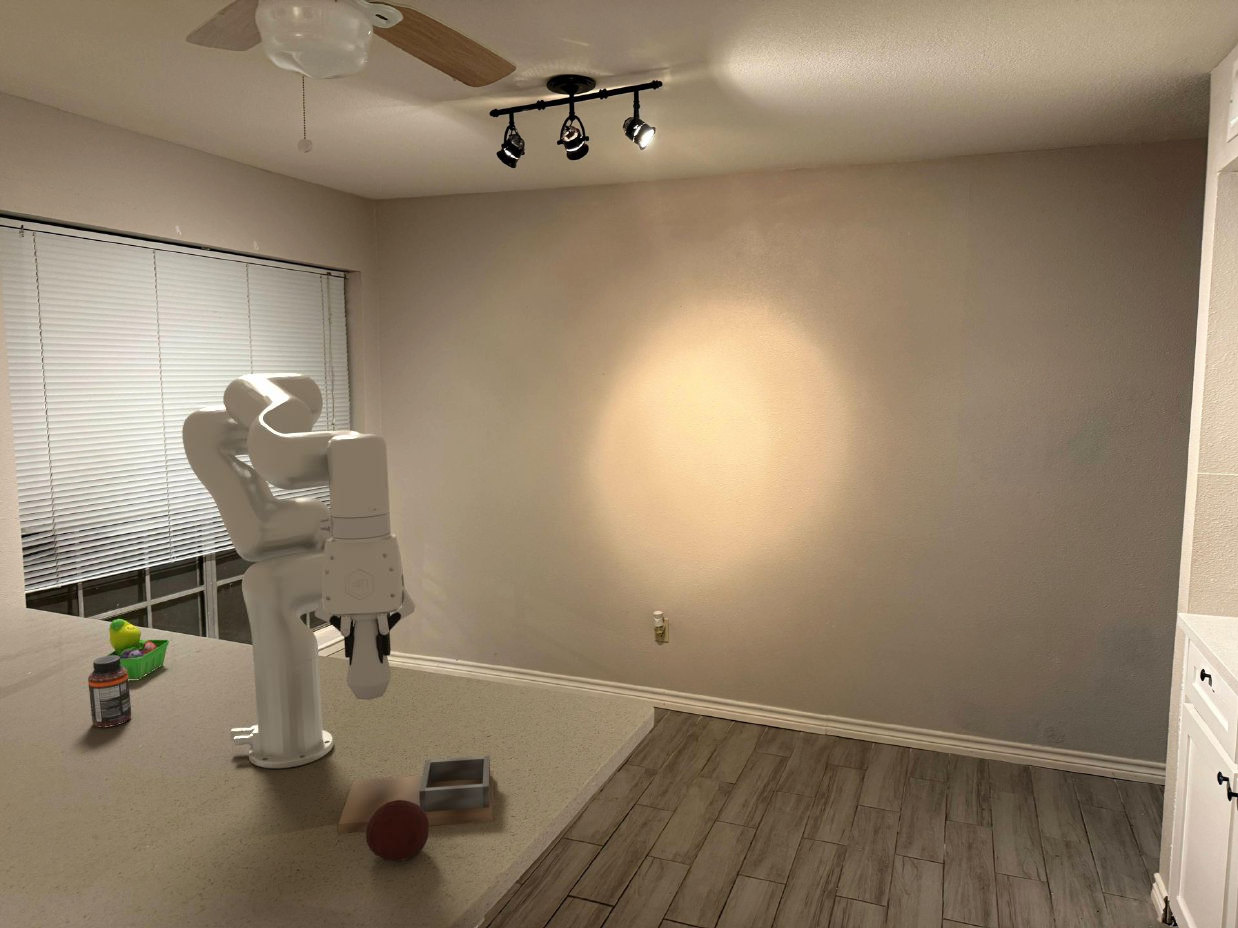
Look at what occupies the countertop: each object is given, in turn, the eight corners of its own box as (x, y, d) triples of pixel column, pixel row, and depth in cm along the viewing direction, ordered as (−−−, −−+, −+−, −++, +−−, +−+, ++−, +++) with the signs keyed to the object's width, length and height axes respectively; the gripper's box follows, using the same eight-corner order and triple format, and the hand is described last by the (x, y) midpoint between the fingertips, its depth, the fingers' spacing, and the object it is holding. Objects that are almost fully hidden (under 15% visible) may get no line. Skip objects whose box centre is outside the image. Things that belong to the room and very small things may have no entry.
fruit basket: (141, 683, 168) (137, 627, 166) (96, 683, 168) (92, 627, 166) (172, 663, 179) (168, 610, 178) (130, 663, 179) (126, 610, 178)
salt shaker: (378, 703, 113) (373, 607, 112) (339, 700, 114) (333, 605, 113) (399, 687, 119) (395, 595, 117) (362, 685, 120) (357, 594, 119)
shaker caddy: (338, 832, 113) (337, 802, 113) (354, 788, 125) (352, 760, 124) (492, 820, 116) (491, 790, 115) (493, 778, 127) (492, 751, 127)
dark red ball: (426, 871, 104) (423, 816, 103) (360, 875, 104) (357, 820, 103) (433, 838, 112) (431, 786, 111) (373, 841, 111) (370, 789, 110)
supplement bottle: (97, 717, 151) (91, 655, 150) (135, 712, 153) (130, 651, 152) (87, 730, 146) (82, 666, 144) (127, 725, 148) (122, 662, 146)
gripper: (289, 534, 110) (298, 674, 112) (419, 529, 111) (426, 667, 113) (305, 524, 117) (313, 655, 119) (427, 520, 119) (433, 649, 121)
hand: (368, 660), depth 116 cm, fingers closed on salt shaker, 3 cm apart
